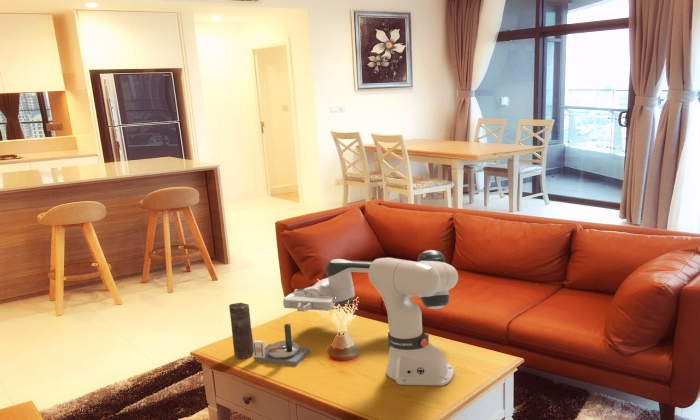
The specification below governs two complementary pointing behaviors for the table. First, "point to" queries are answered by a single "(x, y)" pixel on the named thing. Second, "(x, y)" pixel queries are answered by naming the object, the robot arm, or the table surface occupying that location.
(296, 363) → the stand
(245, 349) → the candle
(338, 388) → the table surface
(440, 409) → the table surface
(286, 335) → the grey disc with rod
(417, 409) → the table surface
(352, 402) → the table surface
